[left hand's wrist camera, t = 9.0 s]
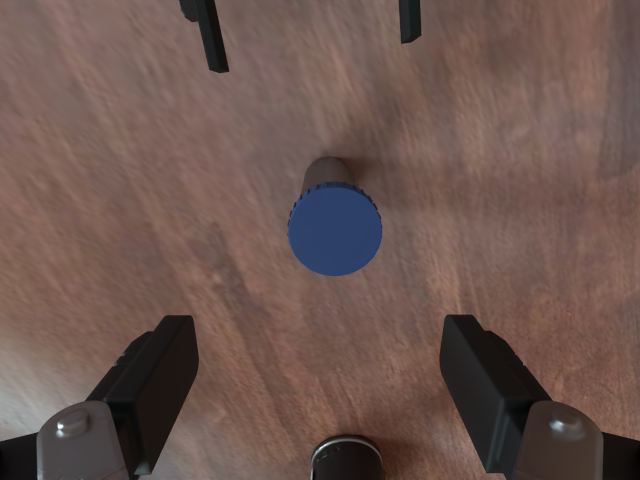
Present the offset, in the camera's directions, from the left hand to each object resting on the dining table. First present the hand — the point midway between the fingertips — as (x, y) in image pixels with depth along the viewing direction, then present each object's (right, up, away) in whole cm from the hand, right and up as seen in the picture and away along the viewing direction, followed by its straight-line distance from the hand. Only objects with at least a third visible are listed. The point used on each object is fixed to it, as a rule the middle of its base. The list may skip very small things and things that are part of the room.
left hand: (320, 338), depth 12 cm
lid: (+1, +4, +10) cm, 10 cm away
